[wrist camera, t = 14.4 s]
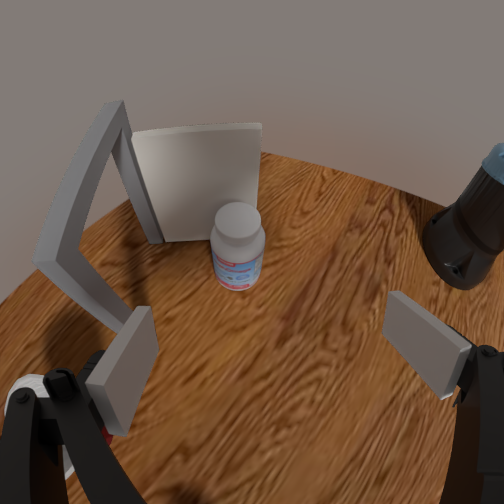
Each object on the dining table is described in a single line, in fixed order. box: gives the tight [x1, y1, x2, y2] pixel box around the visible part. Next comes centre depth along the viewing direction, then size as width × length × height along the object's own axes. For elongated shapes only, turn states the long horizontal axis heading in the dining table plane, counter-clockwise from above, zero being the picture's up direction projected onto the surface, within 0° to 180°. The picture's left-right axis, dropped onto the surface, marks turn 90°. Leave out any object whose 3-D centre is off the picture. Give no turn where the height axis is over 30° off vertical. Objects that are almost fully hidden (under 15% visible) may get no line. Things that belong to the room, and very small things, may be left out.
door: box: [131, 123, 262, 242], centre depth 32 cm, size 13×2×18 cm, turn 95°
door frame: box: [32, 100, 163, 337], centre depth 26 cm, size 2×18×22 cm, turn 4°
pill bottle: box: [210, 202, 265, 291], centre depth 33 cm, size 6×6×11 cm
